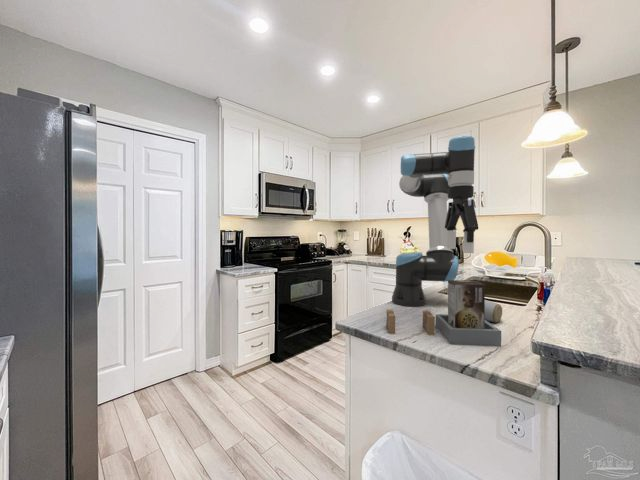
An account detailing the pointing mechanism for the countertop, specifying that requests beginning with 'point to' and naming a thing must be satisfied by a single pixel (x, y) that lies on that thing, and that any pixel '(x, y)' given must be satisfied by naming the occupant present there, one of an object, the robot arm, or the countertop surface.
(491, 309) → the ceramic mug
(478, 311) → the coffee box
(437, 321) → the tray
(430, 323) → the wooden blocks
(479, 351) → the countertop surface
